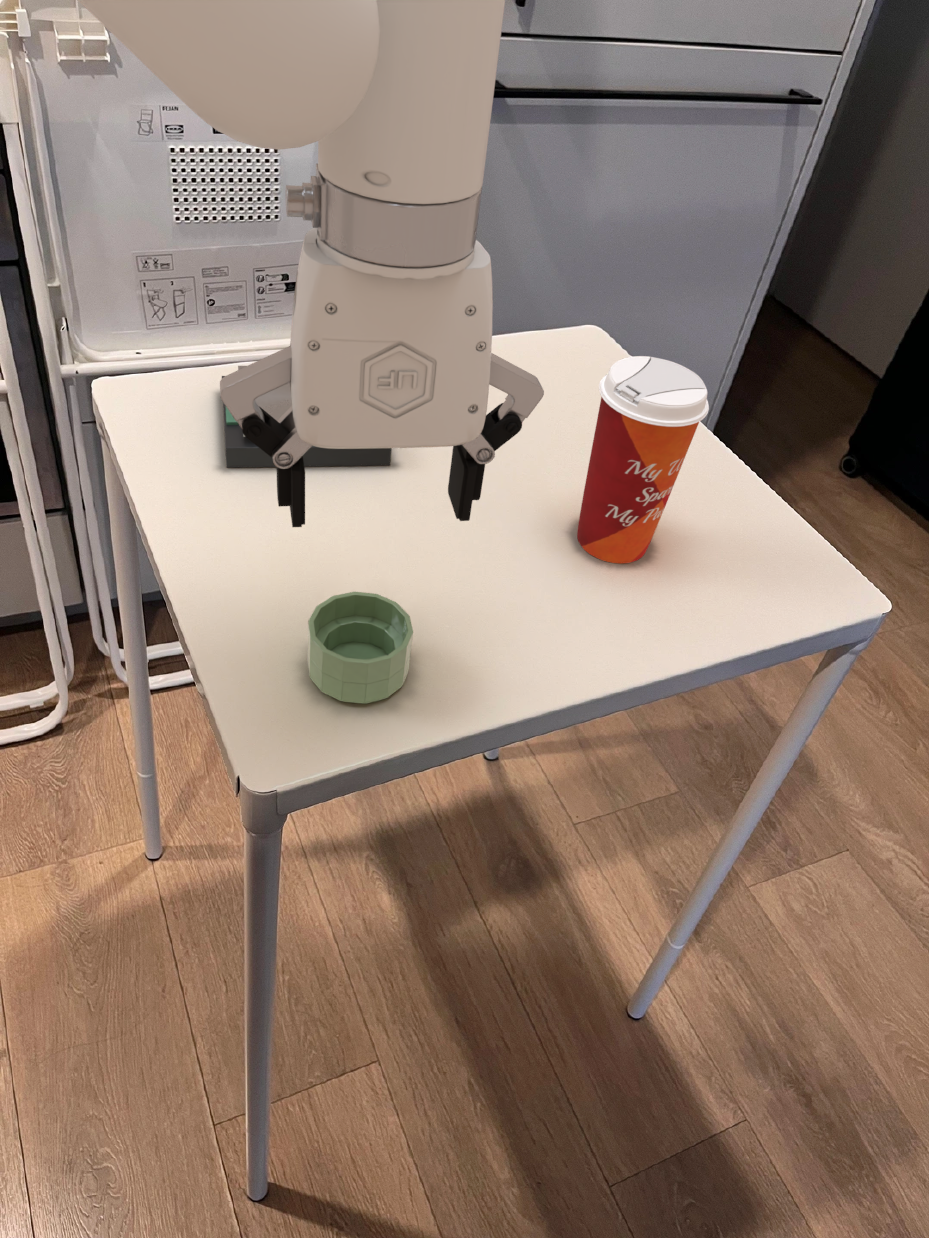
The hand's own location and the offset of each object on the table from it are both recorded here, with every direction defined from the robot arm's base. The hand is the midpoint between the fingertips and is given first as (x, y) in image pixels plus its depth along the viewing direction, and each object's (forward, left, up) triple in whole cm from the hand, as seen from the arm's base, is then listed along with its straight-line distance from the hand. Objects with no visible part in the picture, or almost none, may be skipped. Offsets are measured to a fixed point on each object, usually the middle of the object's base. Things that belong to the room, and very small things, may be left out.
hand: (378, 510), depth 56 cm
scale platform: (-2, +30, -11) cm, 32 cm away
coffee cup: (+22, +13, -14) cm, 29 cm away
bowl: (-1, 0, -13) cm, 13 cm away
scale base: (-2, +30, -13) cm, 33 cm away
